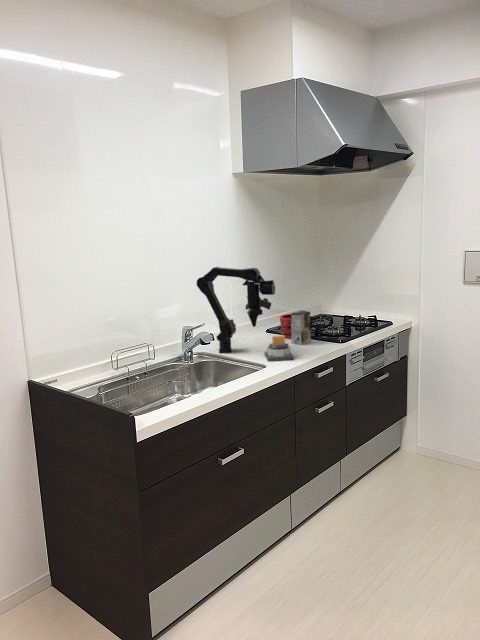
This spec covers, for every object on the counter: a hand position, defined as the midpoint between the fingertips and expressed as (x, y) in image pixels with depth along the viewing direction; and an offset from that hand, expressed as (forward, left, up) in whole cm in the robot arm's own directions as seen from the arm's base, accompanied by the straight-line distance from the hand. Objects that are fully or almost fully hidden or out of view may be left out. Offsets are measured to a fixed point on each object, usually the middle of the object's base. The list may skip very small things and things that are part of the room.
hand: (254, 326), depth 261 cm
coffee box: (-16, +26, -13) cm, 33 cm away
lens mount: (+11, +10, -13) cm, 20 cm away
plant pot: (-30, +24, -13) cm, 41 cm away
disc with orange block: (+11, +10, -10) cm, 18 cm away
